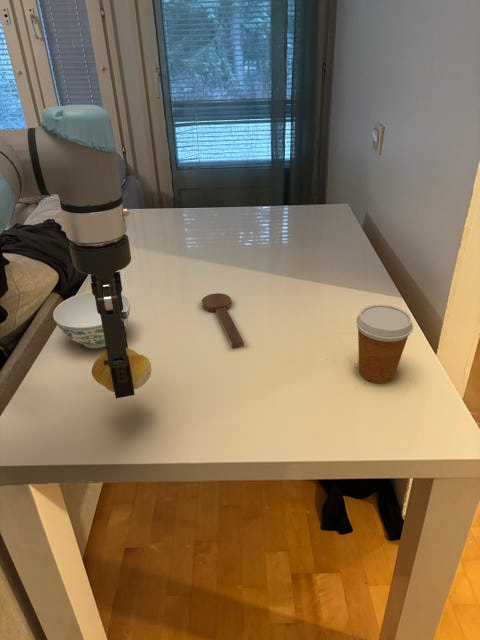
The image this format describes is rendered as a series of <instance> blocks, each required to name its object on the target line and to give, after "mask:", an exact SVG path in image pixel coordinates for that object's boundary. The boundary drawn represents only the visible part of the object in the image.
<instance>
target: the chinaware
mask: <svg viewBox="0 0 480 640" xmlns="http://www.w3.org/2000/svg"><path fill="white" fill-rule="evenodd" d="M121 296H122V302H123V311H122V312H126V314H127V318H126V319H121V320H122V321H124V327H126V325H127V324H128V320H129V317H130V312H131V301H130V298H128V296H126V295H125V294H123V293H121ZM52 316H53V320H54V322H55V324H56V325H57V328H59V330H60V331H61V332H62V333H63V334H64V335H65V336H66V337H67V338H68V339H70V340H72V341H74V342H76V343H78V344H81V345H83V346H84V347H86V348H89V349H101V348H104V347H105V348H106V344H105V338H104V333H103V327H102V321H101V316H100V314H98V312H97V307H96V301H95V296H94V295H93V293H92V291H87V292H82V293H79V294H76V295H72V296H70V297H69V298H67V299H65V300H63V301H62V302H60V303H59V304H58V305H57V306H56V307H55V308H54V310H53V313H52Z"/></svg>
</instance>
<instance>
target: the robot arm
mask: <svg viewBox="0 0 480 640" xmlns="http://www.w3.org/2000/svg"><path fill="white" fill-rule="evenodd" d="M40 124H41V125H39V126H35V127H29V128H5V129H0V235H1V234H2V233H3V232H4V231H5V230H6V229H7V228H8V226H9V224H10V222H11V221H13V218H14V216H15V213H16V207H17V205H18V203H19V201H20V199H23V198H32V197H48V196H52V195H57V196H58V199H59V205H60V212H61V217H62V222H63V226H64V230H65V235H66V238H67V239H68V240H69V242H68V247H69V252H70V256H71V261H72V265H73V268H74V269H75V271H77V272H79V273H81V274H84V275H90V280H91V281H90V287H91V288H90V289H91V292H92V293H93V295H94V296H95V301H96V307H97V312H98V314H100V316H101V321H102V327H103V333H104V338H105V344H106V346H105V350H106V351H107V355H108V360H104V361H103V362H104V365H108V366H109V367H110V371H111V376H112V382H113V387H114V392H113V393H114V396H115V399H123V398H127V397H132V396H136V393H135V389H134V387H133V381H132V375H131V369H130V363H129V356H128V355H127V351H126V348H129V346H128V339H127V334H126V333H127V332H126V328H125V327H126V326H125V327H124V321H122V320H121V319H126V318H127V314H126V312H122V311H123V302H122V296H121V294H122V292H123V285H122V283H123V282H122V278H121V272H120V271H122V270H124V269H125V268H127V267H128V266H129V265H130V264H131V262H132V252H131V246H130V239H129V236H128V235H127V234H126V233H127V229H128V228H127V221H126V217H128V216H130V214H131V213H130V209H129V208H127V207H125V208H124V200H123V199H124V198H123V192H122V183H121V176H120V175H121V174H120V168H119V167H120V166H119V161H118V153H117V147H116V146H117V145H116V142H115V136H114V131H113V125H112V120H111V116H110V114H109V112H108V111H107V110H106V109H105V108H104V107H102V106H101V105H96V104H66V105H55V106H54V105H53V106H50V107H49V106H48V107H46V108H44V109H43V110H42V112H41V122H40Z"/></svg>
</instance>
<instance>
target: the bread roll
mask: <svg viewBox="0 0 480 640" xmlns="http://www.w3.org/2000/svg"><path fill="white" fill-rule="evenodd" d="M126 351H127V355H128V356H129V363H130V369H131V375H132V381H133V387H134V390H137V389H140V388H142V387H143V386H144V385H145V384H146V383H147V382H148V381H149V379H150V377H151V375H152V364H151V362H150V359H149V358H148V357H147V356H145V355H143V354H140V353H138V352H137V351H135V350H134V349H132V348H129V347H128V348H126ZM104 360H108V355H107V350H106V351H104V352H103V353H102V354H101V355H99V356H98V357H97V359H96V360H95V361H94V363H93V365H92V367H91V376H92V378H93V380H95V381H96V383H97V384H99V385H100V386H102V387H105V389H106V390H108V391H110V392H112V393H115V392H114V387H113V382H112V376H111V371H110V367H109V366H108V365H104V362H103V361H104Z"/></svg>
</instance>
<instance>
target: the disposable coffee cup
mask: <svg viewBox="0 0 480 640" xmlns="http://www.w3.org/2000/svg"><path fill="white" fill-rule="evenodd" d="M355 324H356V327H357V337H358V338H357V339H358V342H357V343H358V348H357V349H358V373H359V375H360V376H361V378H363V379H364V380H366V381H368V382H370V383H374V384H386V383H389V382H391V381H393V379H394V378H395V375H396V372H397V370H398V366H399V364H400V360H401V359H402V355H403V352H404V350H405V347H406V344H407V341H408V338H409V336H410V335H411V333H412V332H413V330H414V324H413V322H412V317H411V315H410V314H409V313H408V311H407V312H406V311H405V310H404V309H402V308H400V307H397V306H393V305H389V304H372V305H367V306H365V307H364V308H362V309H361V310H360V311H359V314H357V316H356V318H355Z"/></svg>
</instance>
